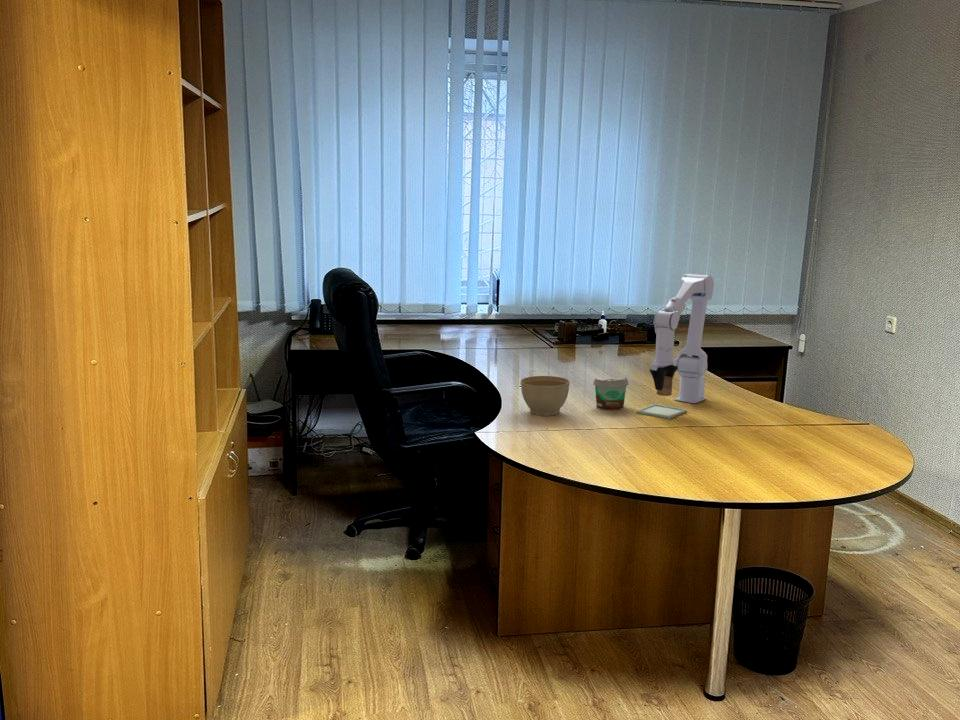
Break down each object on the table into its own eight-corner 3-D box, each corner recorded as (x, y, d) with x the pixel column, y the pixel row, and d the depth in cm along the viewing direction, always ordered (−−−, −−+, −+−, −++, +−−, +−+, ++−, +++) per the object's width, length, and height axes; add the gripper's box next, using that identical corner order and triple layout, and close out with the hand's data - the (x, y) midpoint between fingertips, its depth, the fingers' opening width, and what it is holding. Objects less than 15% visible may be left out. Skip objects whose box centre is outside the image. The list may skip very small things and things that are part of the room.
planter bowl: (538, 404, 303) (539, 373, 301) (578, 412, 293) (579, 380, 291) (510, 413, 290) (510, 381, 288) (550, 421, 280) (551, 388, 278)
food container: (599, 411, 293) (600, 382, 291) (592, 407, 299) (593, 378, 297) (633, 409, 297) (634, 380, 295) (625, 405, 302) (627, 376, 300)
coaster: (654, 406, 301) (654, 403, 301) (686, 412, 294) (686, 409, 294) (636, 412, 292) (636, 410, 292) (669, 419, 285) (669, 416, 285)
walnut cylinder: (659, 391, 295) (660, 375, 294) (673, 393, 292) (674, 377, 291) (654, 394, 291) (655, 378, 289) (668, 396, 288) (669, 380, 287)
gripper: (665, 352, 281) (663, 394, 283) (686, 346, 292) (684, 386, 294) (645, 349, 285) (643, 390, 288) (666, 343, 296) (665, 383, 299)
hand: (662, 388), depth 291 cm, fingers closed on walnut cylinder, 5 cm apart
